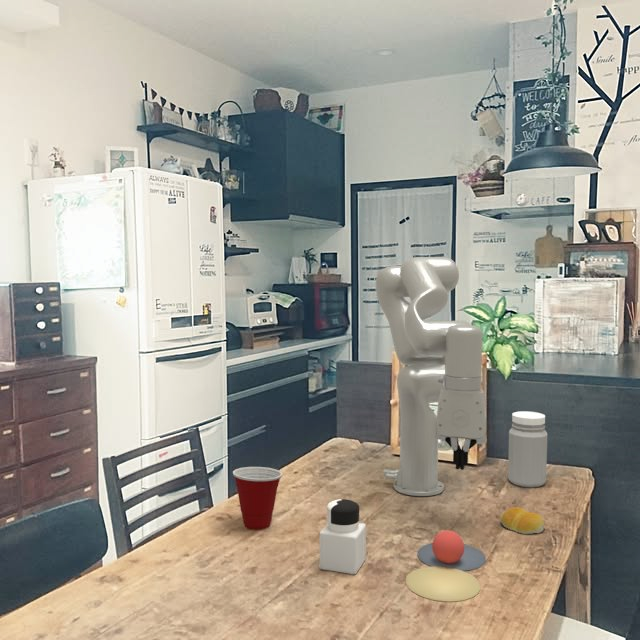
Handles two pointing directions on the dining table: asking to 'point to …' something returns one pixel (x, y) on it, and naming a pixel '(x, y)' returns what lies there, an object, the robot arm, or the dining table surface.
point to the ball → (448, 547)
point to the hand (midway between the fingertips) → (460, 467)
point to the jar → (527, 449)
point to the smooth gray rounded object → (467, 562)
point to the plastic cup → (257, 495)
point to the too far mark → (443, 584)
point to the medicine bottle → (342, 538)
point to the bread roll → (522, 521)
